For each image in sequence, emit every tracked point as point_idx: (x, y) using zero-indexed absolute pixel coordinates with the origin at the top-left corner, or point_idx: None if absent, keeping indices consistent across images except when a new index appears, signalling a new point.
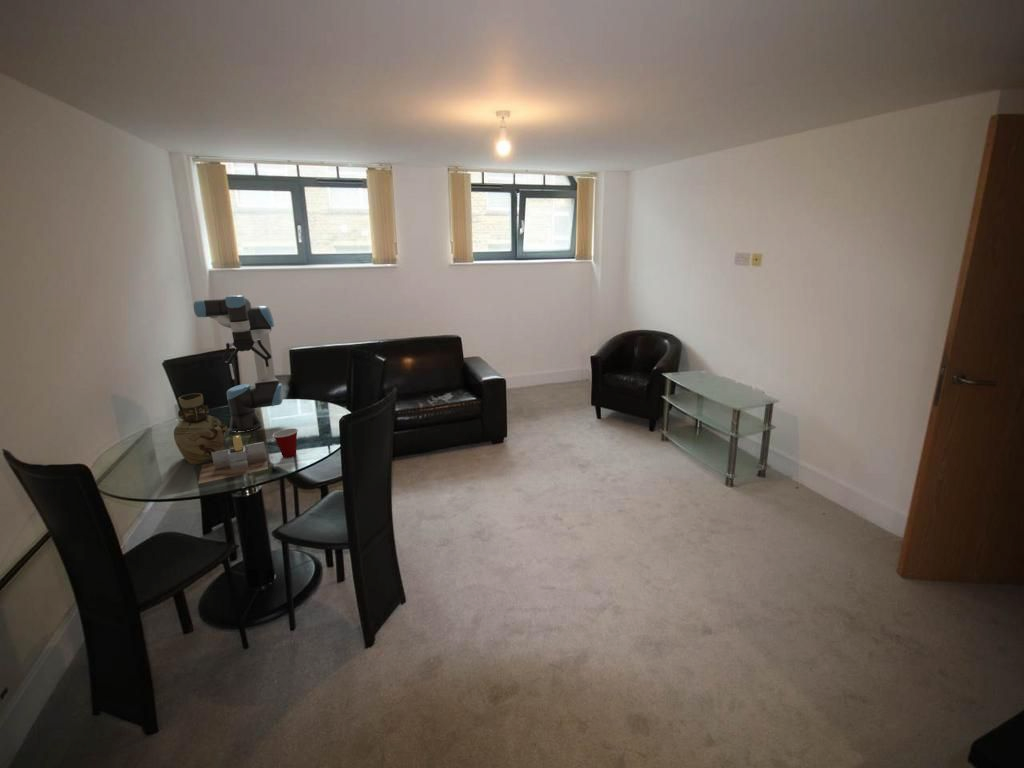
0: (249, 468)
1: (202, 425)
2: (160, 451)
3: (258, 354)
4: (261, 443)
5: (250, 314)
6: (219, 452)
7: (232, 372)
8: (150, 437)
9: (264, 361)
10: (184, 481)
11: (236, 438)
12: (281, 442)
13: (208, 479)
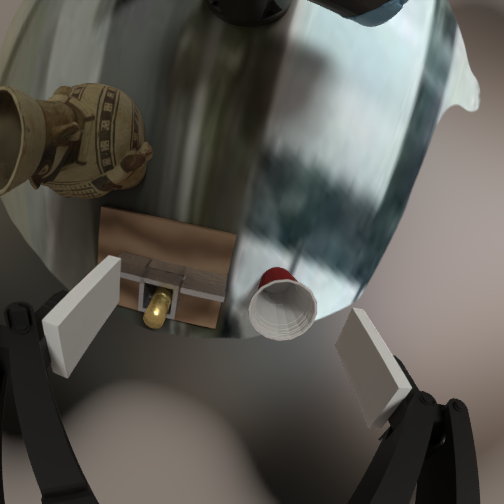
0: (183, 302)
1: (72, 174)
2: (59, 42)
3: (360, 489)
4: (217, 299)
5: None
6: (122, 276)
7: (94, 332)
8: None
9: (374, 423)
10: (77, 253)
11: (153, 327)
12: (262, 318)
13: None
